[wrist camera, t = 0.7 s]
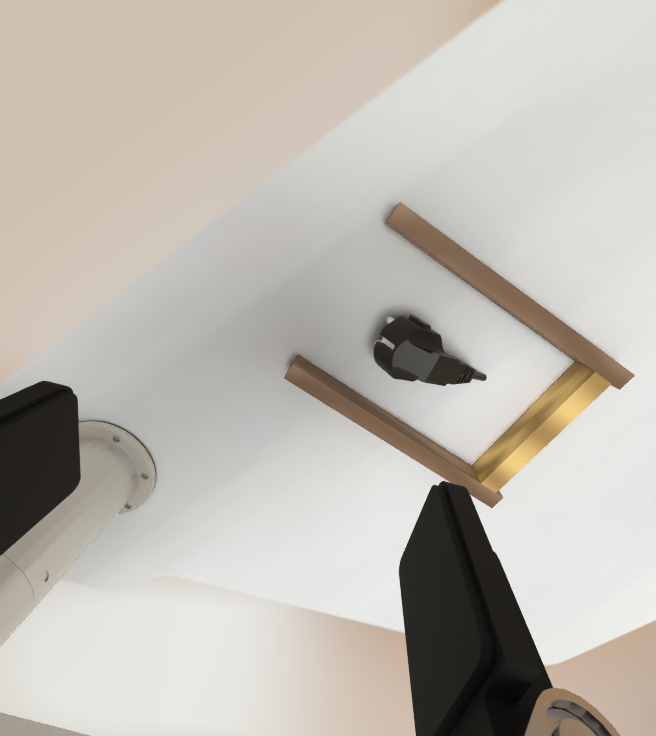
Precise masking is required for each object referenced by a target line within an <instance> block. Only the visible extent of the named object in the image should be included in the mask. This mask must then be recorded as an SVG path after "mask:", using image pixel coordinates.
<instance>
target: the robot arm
mask: <svg viewBox="0 0 656 736" xmlns="http://www.w3.org/2000/svg"><path fill="white" fill-rule="evenodd" d="M155 478H156V474H155V468H154V464H153V462H152V460H151V457H150V456H149V454H148V452H147V451H146V449H145V448H144V447H143V446H142V445H141V443H140V442H139V441H138V440H136V439H135V438H134V437H133V436H132V435H130V434H129V433H127V432H126V431H124V430H122V429H120V428H118V427H116V426H113V425H111V424H107V423H103V422H95V421H88V422H80V423H78V400H77V397H76V395H75V394H73V391H72V389H71V388H70V387H68V386H64V385H60V384H56V383H52V382H48V381H42V382H38V383H36V384H34V385H32V386H30V387H27V388H25V389H23V390H21V391H18V392H16V393H14V394H12V395H10V396H7V397H5V398H3V399H1V400H0V647H1V646H2V645H3V643H4V642H5V641H6V640H7V639H8V638H9V636H10V635H11V634H12V633H13V632H14V631H15V630H16V628H17V627H18V626H19V625H20V624H21V623H22V622H23V620H24V619H25V618H26V617H27V616H28V615H29V613H30V612H31V611H32V610H33V609H34V608H35V607H36V606H37V604H38V603H39V602H40V601H41V600H42V599H43V598H44V596H45V595H46V594H47V593H48V592H49V591H50V590H51V588H52V587H53V586H54V585H55V584H56V582H58V580H59V579H60V578H61V577H62V576H63V575H64V574H65V572H66V571H67V570H68V569H69V568H70V567H71V566H72V565H73V563H74V562H75V561H76V560H77V559H78V558H79V557H80V555H81V554H82V553H83V552H84V551H85V550H86V549H87V547H88V546H89V545H90V544H91V543H92V542H93V541H94V539H95V538H96V537H97V536H98V535H99V534H100V533H101V531H102V530H103V529H104V528H105V527H106V526H107V525H108V523H109V522H110V521H111V520H112V519H113V518H114V517H115V516H116V514H118V513H125V512H129V511H132V510H134V509H136V508H138V507H139V506H141V505H142V504H143V503H144V502H145V501H146V500H147V498H148V497H149V496H150V494H151V493H152V491H153V489H154V485H155ZM399 579H400V588H401V598H402V607H403V617H404V626H405V636H406V644H407V655H408V664H409V674H410V683H411V693H412V702H413V711H414V721H415V731H416V736H620V735H619V733H618V732H617V731H616V729H615V728H614V727H613V725H612V724H611V723H610V722H609V721H608V720H607V719H606V718H605V717H604V716H603V715H602V714H601V713H600V712H599V711H598V710H597V709H596V708H595V707H593V706H592V705H590V704H589V703H588V702H587V701H585V700H584V699H582V698H581V697H580V696H578V695H576V694H573V693H571V692H569V691H567V690H565V689H558V688H553V687H552V684H551V682H550V679H549V677H548V675H547V672H546V670H545V667H544V665H543V663H542V660H541V658H540V656H539V653H538V651H537V648H536V646H535V644H534V641H533V639H532V636H531V634H530V632H529V629H528V627H527V625H526V622H525V620H524V617H523V615H522V613H521V610H520V608H519V605H518V603H517V601H516V598H515V596H514V594H513V591H512V589H511V586H510V584H509V582H508V579H507V577H506V574H505V572H504V570H503V567H502V565H501V563H500V560H499V558H498V556H497V555H496V553H495V552H494V551H493V550H492V547H491V545H490V543H489V540H488V538H487V535H486V533H485V530H484V528H483V526H482V523H481V521H480V518H479V516H478V513H477V511H476V509H475V506H474V504H473V501H472V499H471V496H470V494H469V492H468V490H467V488H466V487H464V486H461V485H457V484H453V483H449V482H445V481H442V482H441V483H440V484H439V486H437V485H433V486H432V487H431V489H430V492H429V494H428V496H427V499H426V501H425V503H424V506H423V508H422V511H421V513H420V515H419V518H418V520H417V522H416V525H415V527H414V529H413V532H412V534H411V536H410V539H409V541H408V543H407V546H406V548H405V551H404V553H403V555H402V558H401V561H400V566H399ZM0 736H89V735H85V734H81V733H78V732H74V731H70V730H66V729H62V728H58V727H55V726H50V725H47V724H43V723H39V722H35V721H31V720H27V719H23V718H20V717H16V716H12V715H8V714H4V713H0Z"/></svg>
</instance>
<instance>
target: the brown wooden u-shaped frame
mask: <svg viewBox="0 0 656 736" xmlns="http://www.w3.org/2000/svg"><path fill="white" fill-rule="evenodd" d="M385 224H386V225H388V226H389V227H390V228H392V229H393V230H395V231H396V232H397V233H399V234H400V235H401V236H403V237H404V238H406V239H407V240H408V241H410V242H411V243H413V244H414V245H415V246H417V247H418V248H419V249H421V250H422V251H424V252H425V253H426V254H428V255H429V256H431V257H432V258H433V259H435V260H436V261H437V262H439V263H440V264H442V265H443V266H444V267H446V268H447V269H448V270H450V271H451V272H453V273H454V274H455V275H457V276H458V277H460V278H461V279H462V280H464V281H465V282H466V283H468V284H469V285H471V286H472V287H473V288H475V289H476V290H478V291H479V292H480V293H482V294H483V295H484V296H486V297H487V298H489V299H490V300H491V301H493V302H494V303H495V304H497V305H498V306H500V307H501V308H502V309H504V310H505V311H507V312H508V313H509V314H511V315H512V316H513V317H515V318H516V319H518V320H519V321H520V322H522V323H523V324H525V325H526V326H527V327H529V328H530V329H531V330H533V331H534V332H536V333H537V334H538V335H540V336H541V337H542V338H544V339H545V340H547V341H548V342H549V343H551V344H552V345H554V346H555V347H556V348H558V349H559V350H560V351H562V352H563V353H565V354H566V355H567V356H569V357H570V358H572V359H573V360H574V361H576V362H575V363H574V364H573V365H572V366H571V367H570V368H569V369H568V370H567V371H566V372H565V373H564V374H563V375H562V376H561V377H560V378H559V379H558V380H557V381H556V382H555V383H554V384H553V385H552V386H551V387H550V388H549V389H548V390H547V391H546V392H545V393H544V394H543V395H542V396H541V397H540V398H539V399H538V400H537V401H536V402H535V403H534V404H533V405H532V406H531V407H530V408H529V409H528V410H527V411H526V412H525V413H524V414H523V415H522V416H521V417H520V418H519V419H518V420H517V421H516V422H515V423H514V424H513V425H512V426H511V427H510V428H509V429H508V430H507V431H506V432H505V433H504V434H503V435H502V436H501V437H500V438H499V439H498V440H497V441H496V442H495V443H494V444H493V445H492V446H491V447H490V448H489V449H488V450H487V451H486V452H485V453H484V454H483V455H482V456H481V458H480V459H479V460H478V461H477V462H476V463H475V464H474V465H473V466H471V465H469V464H468V463H466V462H465V461H463V460H461V459H460V458H458V457H457V456H455V455H454V454H452V453H450V452H449V451H447V450H446V449H444V448H443V447H441V446H440V445H438V444H436V443H435V442H433V441H432V440H430V439H429V438H427V437H425V436H424V435H422V434H421V433H419V432H418V431H416V430H414V429H413V428H411V427H410V426H408V425H407V424H405V423H404V422H402V421H400V420H399V419H397V418H396V417H394V416H393V415H391V414H389V413H388V412H386V411H385V410H383V409H382V408H380V407H379V406H377V405H375V404H374V403H372V402H371V401H369V400H368V399H366V398H364V397H363V396H361V395H360V394H358V393H357V392H355V391H353V390H352V389H350V388H349V387H347V386H346V385H344V384H343V383H341V382H339V381H338V380H336V379H335V378H333V377H332V376H330V375H328V374H327V373H325V372H324V371H322V370H321V369H319V368H318V367H316V366H314V365H313V364H311V363H310V362H308V361H307V360H305V359H303V358H302V357H300V356H299V355H297V357H296V358H295V360H294V361H293V363H292V365H291V366H290V368H289V369H288V371H287V373H286V375H285V377H284V378H285V379H286V380H288V381H289V382H291V383H293V384H294V385H296V386H297V387H299V388H301V389H302V390H304V391H305V392H307V393H309V394H310V395H312V396H313V397H315V398H317V399H318V400H320V401H321V402H323V403H325V404H326V405H328V406H329V407H331V408H333V409H334V410H336V411H337V412H339V413H341V414H342V415H344V416H345V417H347V418H349V419H350V420H352V421H353V422H355V423H357V424H358V425H360V426H361V427H363V428H365V429H366V430H368V431H369V432H371V433H373V434H374V435H376V436H377V437H379V438H381V439H382V440H384V441H385V442H387V443H389V444H390V445H392V446H393V447H395V448H397V449H398V450H400V451H401V452H403V453H405V454H406V455H408V456H409V457H411V458H413V459H414V460H416V461H417V462H419V463H421V464H422V465H424V466H425V467H427V468H429V469H430V470H432V471H433V472H435V473H437V474H438V475H440V476H441V477H443V478H445V479H446V480H448V481H449V482H451V483H453V484H457V485H461V486H464V487H466V488H467V490H468V492H469V494H470V495H472V496H473V497H475V498H477V499H478V500H480V501H481V502H483V503H485V504H486V505H488V506H489V507H491V508H493V507H494V506H495V505H496V504H497V503H498V502H499V501H500V500H501V499H502V498H503V496H502V495H501V493H500V491H499V490H500V489H501V488H502V487H503V486H504V485H505V484H506V483H507V482H508V481H509V480H510V479H511V478H512V477H513V476H514V475H516V474H517V473H518V472H519V471H520V470H521V469H522V468H523V467H524V466H525V465H526V464H527V463H528V462H529V461H530V460H531V459H532V458H534V457H535V456H536V455H537V454H538V453H539V452H540V451H541V450H542V449H543V448H544V447H545V446H546V445H547V444H548V443H549V442H550V441H552V440H553V439H554V438H555V437H556V436H557V435H558V434H559V433H560V432H561V431H562V430H563V429H564V428H565V427H566V426H567V425H569V424H570V423H571V422H572V421H573V420H574V419H575V418H576V417H577V416H578V415H579V414H580V413H581V412H582V411H583V410H584V409H585V408H587V407H588V406H589V405H590V404H591V403H592V402H593V401H594V400H595V399H596V398H597V397H598V396H599V395H600V394H601V393H602V392H603V391H605V390H606V389H607V388H608V387H609V386H610V385H612V386H614V387H616V388H618V389H619V390H620V389H621V388H622V387H623V386H624V385H625V384H626V383H627V382H628V381H629V380H631V379H632V378H633V377H634V376H635V375H634V374H633V373H631V372H630V371H628V370H627V369H626V368H624V367H623V366H622V365H620V364H619V363H618V362H616V361H615V360H614V359H612V358H611V357H610V356H608V355H607V354H605V353H604V352H603V351H601V350H600V349H599V348H597V347H596V346H595V345H593V344H592V343H591V342H589V341H588V340H586V339H585V338H584V337H582V336H581V335H580V334H578V333H577V332H576V331H574V330H573V329H572V328H570V327H569V326H568V325H566V324H565V323H563V322H562V321H561V320H559V319H558V318H557V317H555V316H554V315H553V314H551V313H550V312H549V311H547V310H546V309H544V308H543V307H542V306H540V305H539V304H538V303H536V302H535V301H534V300H532V299H531V298H530V297H528V296H527V295H526V294H524V293H523V292H521V291H520V290H519V289H517V288H516V287H515V286H513V285H512V284H511V283H509V282H508V281H507V280H505V279H504V278H502V277H501V276H500V275H498V274H497V273H496V272H494V271H493V270H492V269H490V268H489V267H488V266H486V265H485V264H484V263H482V262H481V261H479V260H478V259H477V258H475V257H474V256H473V255H471V254H470V253H469V252H467V251H466V250H465V249H463V248H462V247H460V246H459V245H458V244H456V243H455V242H454V241H452V240H451V239H450V238H448V237H447V236H446V235H444V234H443V233H442V232H440V231H439V230H437V229H436V228H435V227H433V226H432V225H431V224H429V223H428V222H427V221H425V220H424V219H423V218H421V217H420V216H418V215H417V214H416V213H414V212H413V211H412V210H410V209H409V208H408V207H406V206H405V205H404V204H402V203H401V202H400V203H399V204H398V205H397V206H396V207H395V208H394V210H393V211H392V213H391V214H390V216H389V217H388V219H387V220H386V222H385Z"/></svg>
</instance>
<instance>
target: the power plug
mask: <svg viewBox="0 0 656 736" xmlns="http://www.w3.org/2000/svg"><path fill="white" fill-rule="evenodd" d="M386 322H387V324H388V325H387V326H386V327H385V328H384V329H383V330H382V332H381V333H380V335H382V336H383V338H382V340H376V341H375V343H374V344H375V347H374V359H375V362H376V363H377V364H378V365H379V366H380V367H381V368H382V369H383V370H385V371H386V372H387V373H388V374H389V375H390V376H391V377H393V378H394V379H402V380H407V381H415V380H417V379H418V380H419V381H422V382H425V383H431V384H436V385H442V386H445V385H446V384H462V383H470V382H471V380H472V379H477V380H481V381H485V380H486V378H487V377H486V375H485V374H481V373H476V370H475V369H474V368H472V367H471V366H469V365H467V364H466V363H464V362H462V361H460V360H459V359H457V358H455V357H453V356H450V355H447V354H446V353H445V352H444V350H443V346H442V340H441V336H440V334H438V333H436V332H435V331H433V330H432V329H431V327H430V325H428V324H427V323H425V322H423V321H422V320H420V319H419V318H417V317H415V316H412V315H410V317H409V319H408V318H405V317H402V316H401V317H399V318H397V319H394V318H393V317H388V318H387V319H386Z"/></svg>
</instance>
